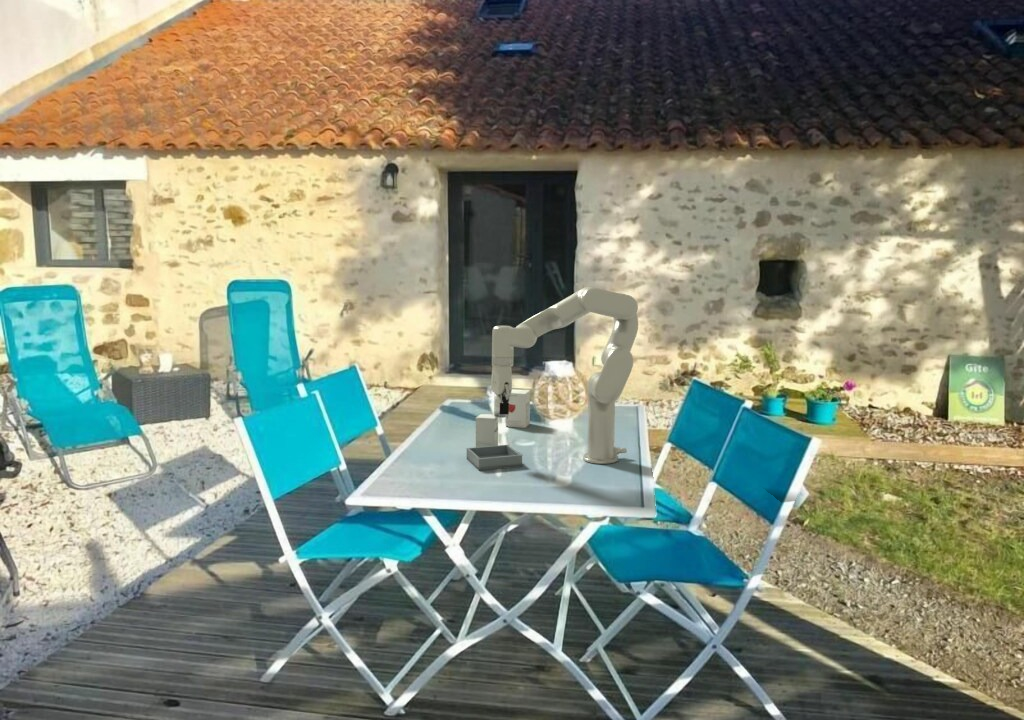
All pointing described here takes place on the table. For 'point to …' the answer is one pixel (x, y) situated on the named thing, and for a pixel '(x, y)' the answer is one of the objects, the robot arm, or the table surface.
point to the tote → (494, 457)
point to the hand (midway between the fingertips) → (501, 411)
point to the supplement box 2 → (519, 409)
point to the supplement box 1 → (486, 430)
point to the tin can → (498, 406)
